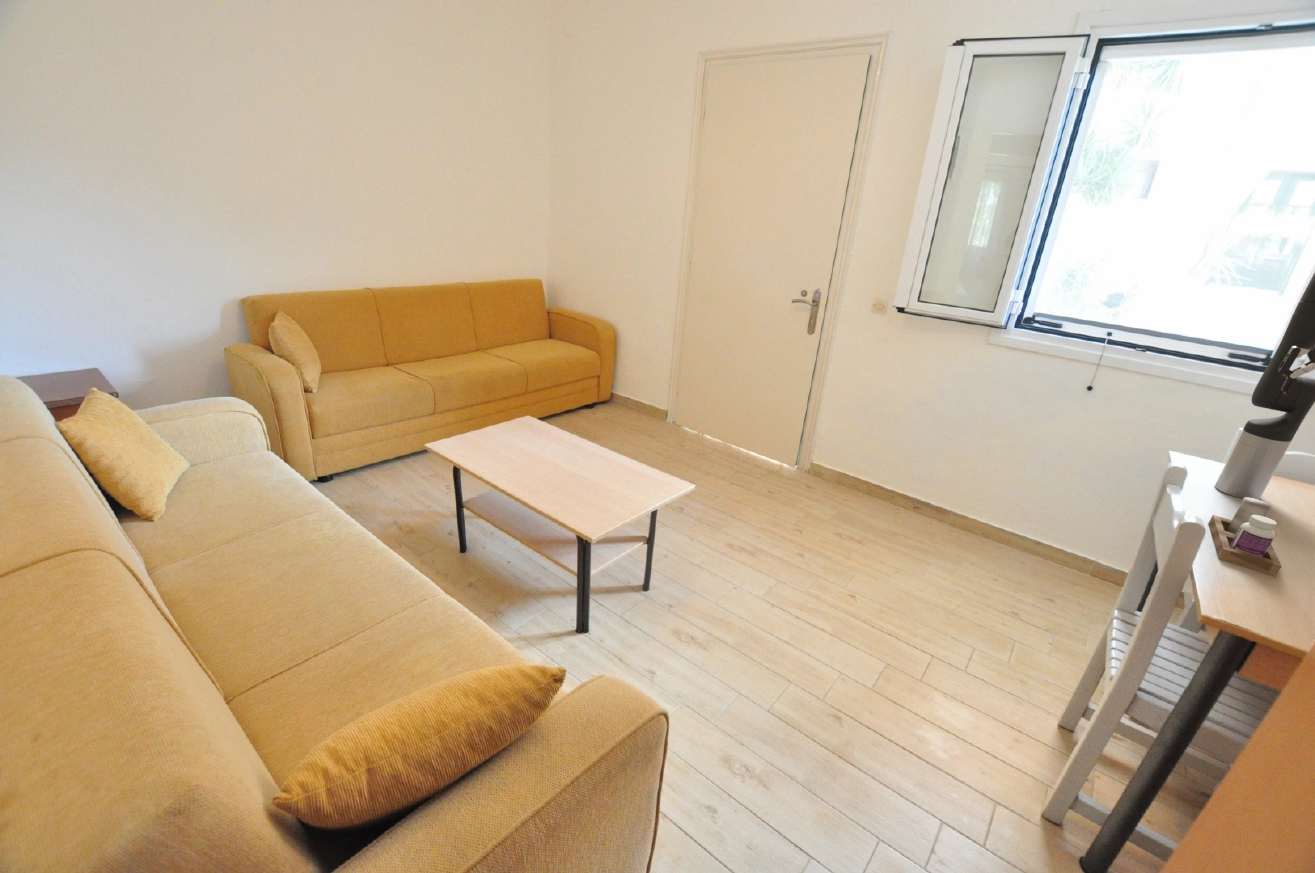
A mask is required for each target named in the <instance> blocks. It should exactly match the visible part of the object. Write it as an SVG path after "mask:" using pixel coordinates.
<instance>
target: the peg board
mask: <svg viewBox="0 0 1315 873" xmlns="http://www.w3.org/2000/svg"><path fill="white" fill-rule="evenodd" d="M1239 504H1240V505H1239V507H1238V508H1237V509H1236V512H1235V514H1234V515H1233V518H1232V519H1230V518H1229V519H1228V518H1227V517H1222V516H1218V515H1215V514H1212V516H1211V517H1210V520H1209V521H1208V523H1207V524H1208V527H1209V530H1210V535H1211V538H1212V541H1213V545H1214V548H1215V552H1216V556H1217V559H1218V560H1221V561H1225V562H1228V563H1230V564H1231V563H1232V564H1235V565H1238V566H1241V567H1244V568H1248V569H1251V570H1254V571H1257V572H1261V573H1264V574H1267V575H1269V576H1270V575H1271V576H1274V577H1277V575H1278V574H1279V572H1280V570H1281V569H1282V566H1283V565H1282V563H1281V562H1280V560H1279V557H1278V555H1277V553H1276V551H1275V549H1274V546H1273V545H1272V543H1271V545H1270V546H1269V548H1268V550H1267V552H1266V553H1265V555H1264V557H1259V556H1256V555H1253V554H1249V553H1246V552H1242V551H1239V550H1236V549H1232V548H1230V545H1231V543H1232V541H1233V539H1234V537H1235V536H1236V534H1237V532H1238V530H1239V528H1240V526H1241V525H1242V524H1243V523H1247V522H1249V519H1250V517H1251V516H1252V515H1260V516H1264V517H1267V514H1268V511H1270V508H1271V504H1270V503H1268V502H1266V501H1263V500H1260V499H1259V500H1258V499H1254V498H1249V497H1245V498H1244V499H1243V498H1242V500H1241V502H1240V503H1239Z"/></svg>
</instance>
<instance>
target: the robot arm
mask: <svg viewBox="0 0 1315 873" xmlns="http://www.w3.org/2000/svg"><path fill="white" fill-rule="evenodd" d="M1285 329H1286V330H1285V332H1284V334H1283V336H1282V339H1281V341H1280V343H1279V345H1278V347H1277V349H1276V350H1275V353H1274V354H1273V356H1272V358H1271V359H1270V361H1269V363H1268V365H1267V367H1266V368H1265V370H1264V372H1263V374H1262V375H1261V377H1260V379H1259V380H1258V383H1257V384H1256V386H1255V388H1254V390H1253V392H1252V396H1251V399H1250V400H1251V404H1252V405H1253V406H1255V407H1258V408H1262V409H1269V410H1272V411H1278V412H1283V413H1284V414H1282V415H1280V416H1275V417H1269V418H1253V419H1252V418H1251V419H1249V420H1247V422H1246V423H1245V425H1244V427H1243V429H1242V431H1241V433H1240V435H1239V436H1238V439H1237V441H1236V443H1235V445H1234V447H1233V449H1232V451H1231V453H1230V454H1229V456H1228V459H1227V461H1226V463H1225V465H1224V466H1223V468H1222V471H1221V473H1220V474H1219V476H1218V478H1217V480H1216V482H1215V484H1214V487H1215V489H1216V490H1219V491H1220V492H1222V493H1224V494H1227V495H1230V496H1233V497H1236V498H1239V499H1242V500H1243V499H1244V498H1245V497H1249V498H1254V499H1258V500H1260V499H1261V498H1262V496H1263V494H1264V492H1265V491H1266V488H1267V486H1268V485H1269V483H1270V481H1271V480H1272V478H1273V476H1274V474H1275V472H1276V470H1277V468H1278V466H1279V465H1280V463H1281V461H1282V459H1283V458H1284V455H1285V454H1286V453H1287V452H1286V451H1287V450H1288V448H1289V446H1291V445H1290V444H1291V443H1292V441H1293V439H1294V437H1295V435H1296V433H1297V432H1298V430H1299V428H1300V426H1301V424H1302V423H1303V421H1304V420H1305V418H1306V416H1307V414H1308V413H1309V412H1310V410H1311V409H1312V407H1313V406H1314V404H1315V379H1314V378H1309V377H1302V375H1305V374H1308V373H1309V372H1312V371H1314V370H1315V271H1314V273H1313V274H1312V276H1311V278H1310V280H1309V282H1308V284H1307V286H1306V288H1305V290H1304V291H1303V294H1302V296H1301V297H1300V299H1299V301H1298V303H1297V305H1296V307H1295V309H1294V311H1293V313H1292V316H1291V318H1290V320H1289V322H1288V325H1287V328H1285ZM1304 355H1307V358H1308V361H1306V362H1304V363H1302V364H1301V365H1299V366H1297V367H1295V368H1294V369H1291V367H1292V366H1293V364H1294V362H1295V361H1296V360H1297V359H1298V358H1302V356H1304Z"/></svg>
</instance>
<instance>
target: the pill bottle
mask: <svg viewBox="0 0 1315 873" xmlns="http://www.w3.org/2000/svg"><path fill="white" fill-rule="evenodd" d="M1277 524H1278V523H1277V521H1276V520H1274V519H1271V518H1269V517H1267V516H1265V517H1264V516H1260V515H1252V516H1251V517H1250V519H1249V522H1247V523H1243V524H1242V525H1241V526H1240V528H1239V530H1238V532H1237V534H1236V536H1235V537H1234V539H1233V541H1232V543H1231V545H1230V548H1232V549H1236V550H1239V551H1242V552H1246V553H1249V554H1253V555H1256V556H1259V557H1264V555H1265V553H1266V552H1267V550H1268V548H1269V546H1270V545H1271V544H1272V543H1273V541H1274V539H1275V538H1276V533H1275V531H1274V529H1275V528H1276V526H1277Z"/></svg>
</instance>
